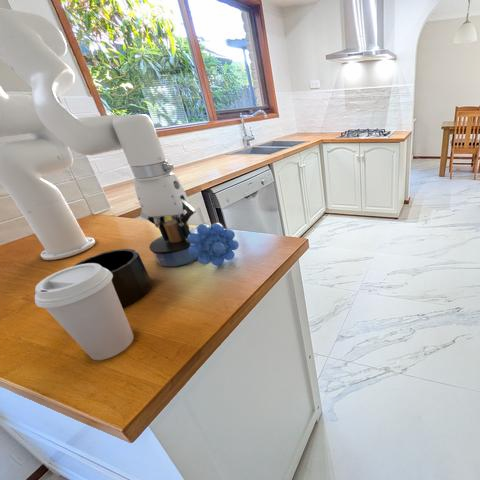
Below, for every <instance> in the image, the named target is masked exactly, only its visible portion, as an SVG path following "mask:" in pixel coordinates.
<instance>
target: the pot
mask: <svg viewBox="0 0 480 480" xmlns="http://www.w3.org/2000/svg"><path fill="white" fill-rule="evenodd" d="M87 263H96V264H99V265H101V266H102V267H103V268H106V269H107V270H109V271H110V272H111V273H112V274H113V278H112V280H111V281H112V283H113V286H114V288H115V291H116V293H117V296H118V298H119V301H120V303H121V306H122V308H123V309H125V308H127V307H130V306H131V305H134V304H135V303H138V302H139V301H140V300H142V299H143V298H144V297H146V295H148V294H149V292H150V291H151V290H152V288H153V282H152V279H151V277H150V275H149V273H148V271H147V269H146V267H145V264H144V262H143V260H142V258H141V255H140V254H139V252H138V251H137V250H136V249H131V248H119V249H114V250H109V251H105V252H101V253H98V254H96V255H95V254H94V255H92V256H89V257H88V258H85V259H84V260H81V261H79V262H77V263H75V264H74V265H73V266H76V265H80V264H87Z"/></svg>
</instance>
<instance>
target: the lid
mask: <svg viewBox="0 0 480 480" xmlns="http://www.w3.org/2000/svg"><path fill="white" fill-rule="evenodd" d="M163 225H164V228H165V230H166V233H167V235H168V238H169V240H168V241H165V240H164V238H163V236H162V235H161V236H159V237H157V238H156V239H154V240H153V241H152V242H151V243H149V250H150V252H152V254H154V253H157V254H168V253H174V252H179V251H182V250H186V249H188V248H189V247H190V246H191V245H194V244H191V243H190V242H189V241H188V238H187V239H186V240H182V238H181V236H180V233H179V231H178V228H177V227H178V226H179V225H178V223H177V221H176V220H170V221H167V222H165V223H164V224H163ZM189 230H190V234H191V233H198V232H197V227H196V228H194V227H193V228H190V229H189ZM198 234H199V233H198Z"/></svg>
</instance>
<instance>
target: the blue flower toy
mask: <svg viewBox="0 0 480 480" xmlns="http://www.w3.org/2000/svg"><path fill="white" fill-rule="evenodd" d="M196 229H197V232H198V233H199V234H198V233H191V234H189V236H188V241H189V242H190V243H191V244H194V245H191V246H190V247H189V253H190V254H191V255H193V256H198V259H197V262H199V263H200V264H202V265H209V264H212V265H214V266H216V267H219V266H222V265H224V264H225V260H226V261H231V260H233V259H234V258H235V255H236V254H235V252H234V251H236V250H238V248H239V246H240V245H239V242H238V241H237V240H236V239H234V238H235V236H236V234H235V232H234V230H233V229H230V228H225V226H224V225H223V224H222V223H221V222H220V223H219V222H214V223H212V224H211V225H208V224H207V223H200V224H199V225H198V226H197V227H196Z"/></svg>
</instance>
